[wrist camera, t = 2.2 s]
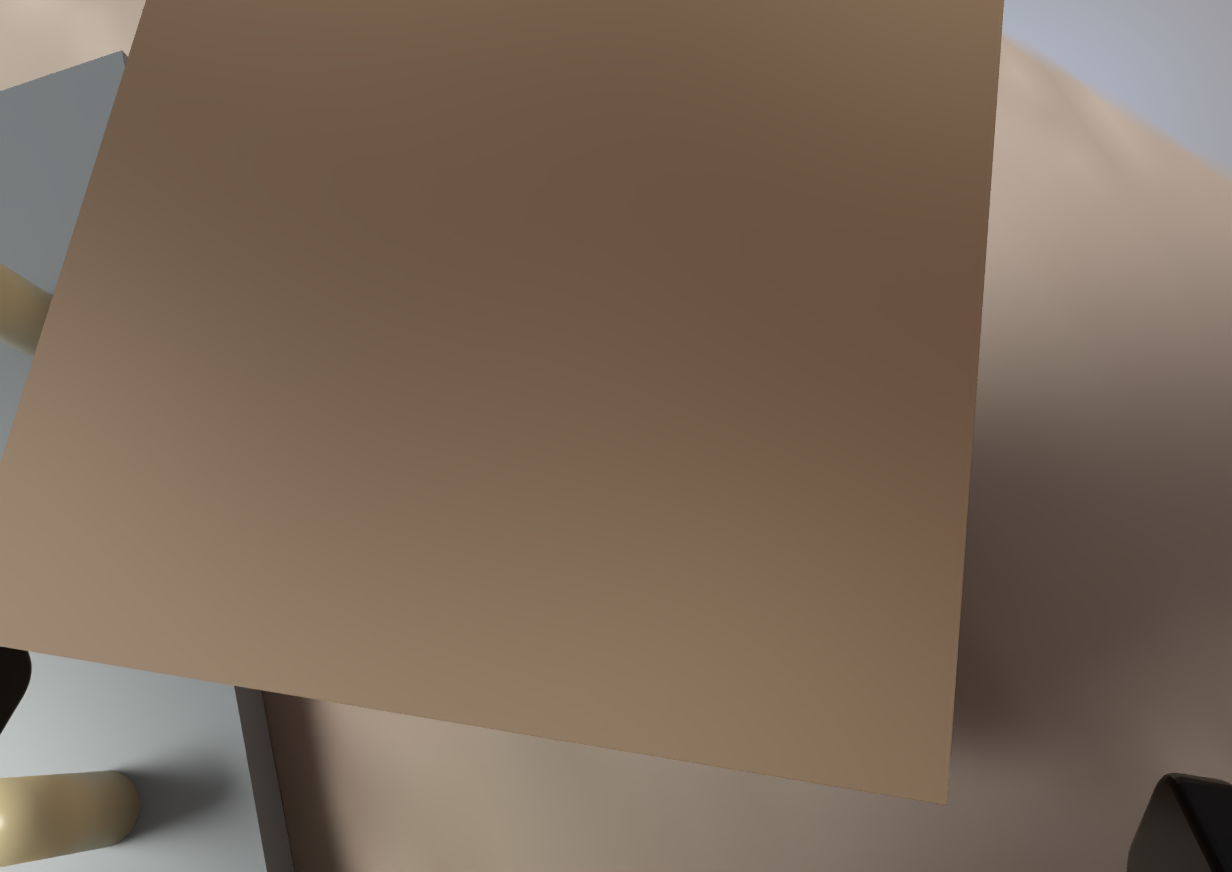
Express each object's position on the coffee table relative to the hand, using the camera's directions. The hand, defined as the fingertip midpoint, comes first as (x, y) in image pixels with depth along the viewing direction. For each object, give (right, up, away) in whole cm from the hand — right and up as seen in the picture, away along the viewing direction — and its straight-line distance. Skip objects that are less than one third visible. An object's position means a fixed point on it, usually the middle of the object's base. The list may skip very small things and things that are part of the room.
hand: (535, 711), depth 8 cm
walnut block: (+2, 0, +10) cm, 10 cm away
